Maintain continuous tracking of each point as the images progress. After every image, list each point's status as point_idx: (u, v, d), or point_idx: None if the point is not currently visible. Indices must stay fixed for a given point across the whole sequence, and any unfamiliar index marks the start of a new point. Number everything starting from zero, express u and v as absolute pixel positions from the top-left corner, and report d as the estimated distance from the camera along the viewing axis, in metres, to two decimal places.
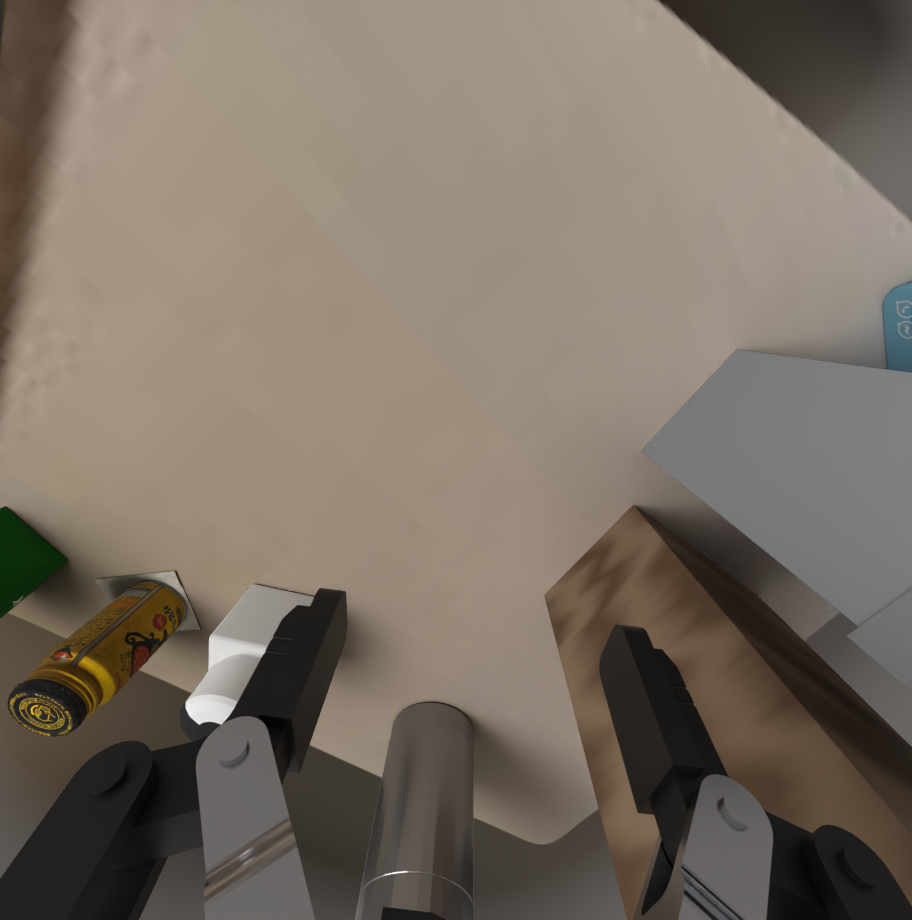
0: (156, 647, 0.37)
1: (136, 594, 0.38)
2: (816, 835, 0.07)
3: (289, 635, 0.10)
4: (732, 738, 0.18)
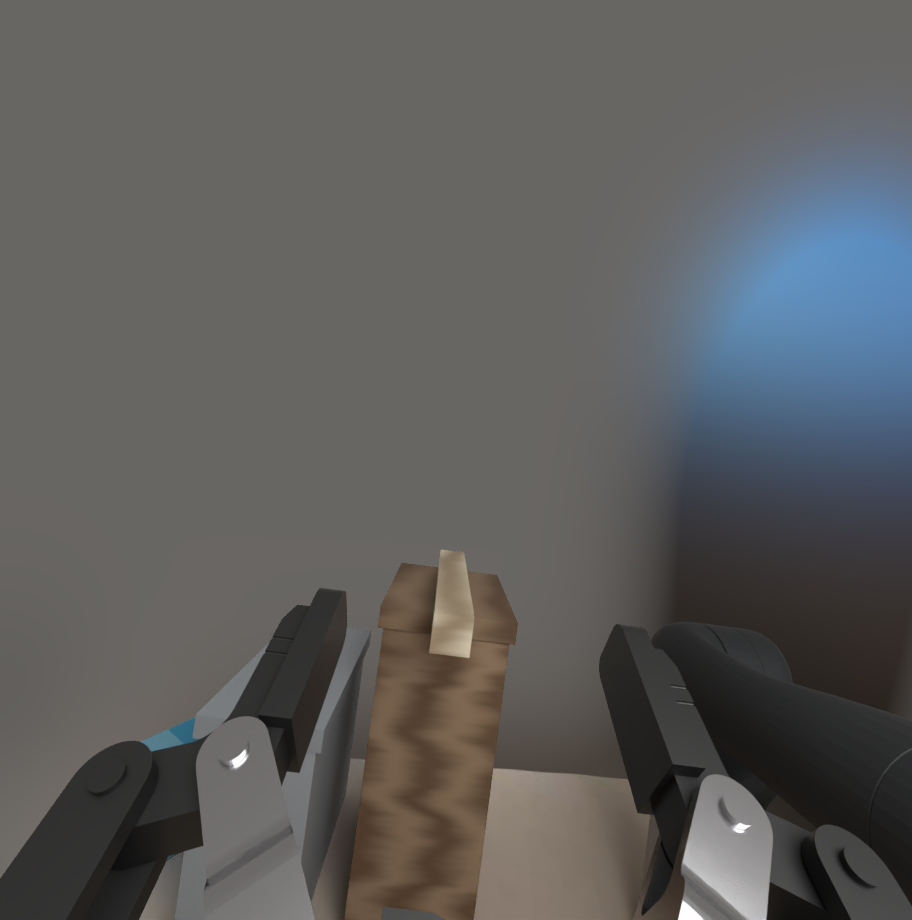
0: None
1: None
2: (816, 835, 0.07)
3: (289, 635, 0.10)
4: (403, 753, 0.37)
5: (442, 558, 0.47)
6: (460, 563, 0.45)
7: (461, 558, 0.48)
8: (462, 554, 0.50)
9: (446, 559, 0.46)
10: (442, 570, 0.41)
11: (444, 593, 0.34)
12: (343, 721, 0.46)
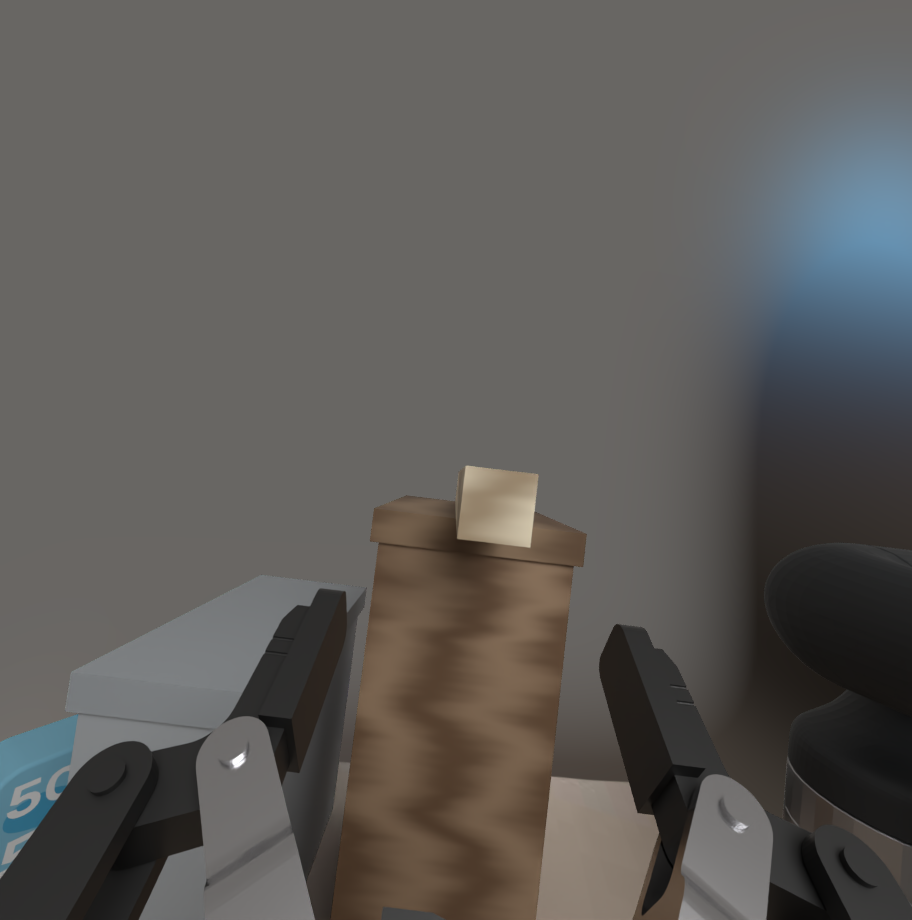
0: None
1: None
2: (816, 835, 0.07)
3: (289, 635, 0.10)
4: (410, 740, 0.24)
5: None
6: None
7: None
8: None
9: None
10: None
11: None
12: (325, 702, 0.32)
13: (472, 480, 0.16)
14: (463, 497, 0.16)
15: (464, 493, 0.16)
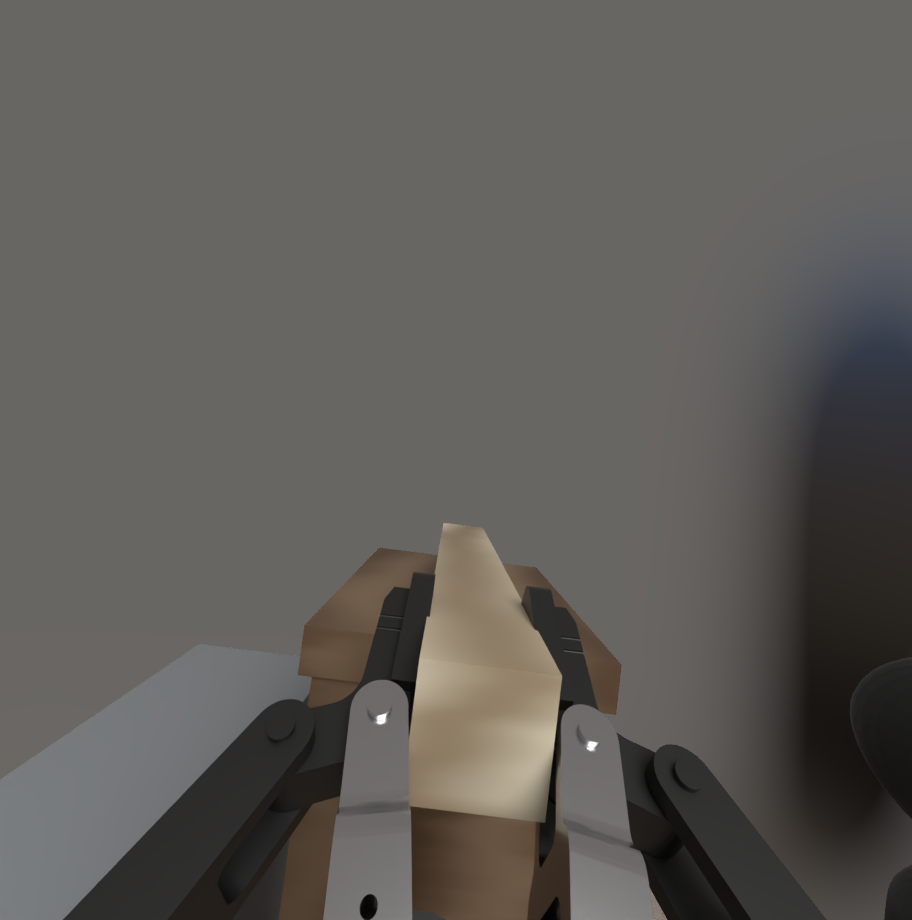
0: None
1: None
2: (654, 764, 0.08)
3: (394, 613, 0.11)
4: None
5: (446, 533, 0.25)
6: (480, 540, 0.24)
7: (480, 534, 0.27)
8: (480, 529, 0.29)
9: (453, 534, 0.25)
10: (446, 549, 0.20)
11: (451, 592, 0.13)
12: None
13: (432, 687, 0.08)
14: (413, 723, 0.08)
15: (416, 714, 0.08)
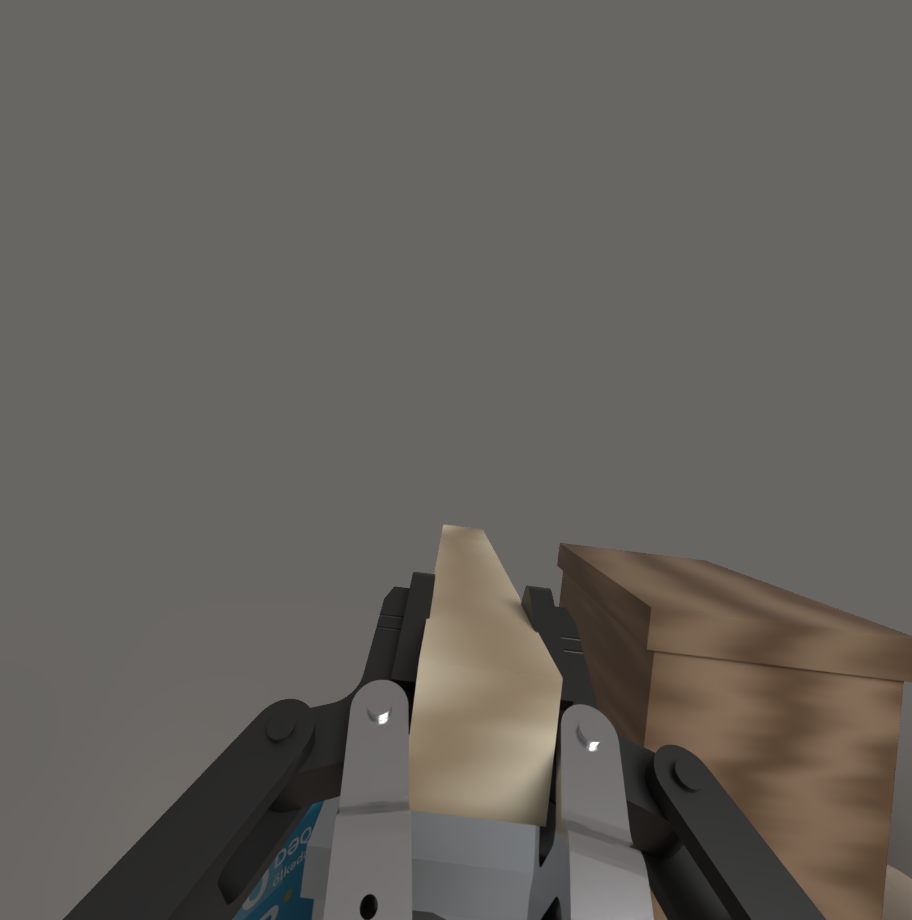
0: None
1: None
2: (654, 764, 0.08)
3: (394, 613, 0.11)
4: None
5: (446, 534, 0.25)
6: (480, 542, 0.24)
7: (480, 536, 0.27)
8: (480, 531, 0.29)
9: (453, 536, 0.25)
10: (446, 550, 0.20)
11: (451, 595, 0.13)
12: None
13: (432, 689, 0.08)
14: (413, 726, 0.08)
15: (415, 717, 0.08)
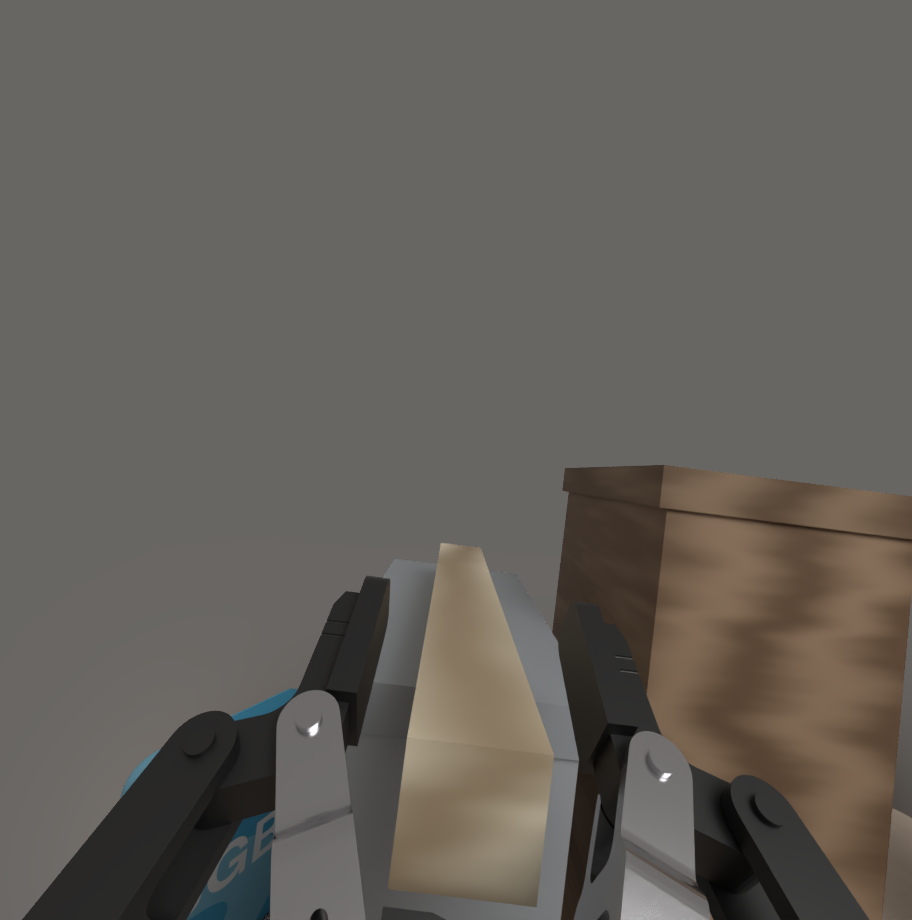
0: None
1: None
2: (731, 789, 0.08)
3: (342, 619, 0.11)
4: (712, 762, 0.19)
5: (443, 557, 0.25)
6: (477, 565, 0.24)
7: (477, 557, 0.27)
8: (478, 550, 0.29)
9: (450, 558, 0.25)
10: (442, 579, 0.20)
11: (444, 641, 0.13)
12: None
13: (420, 766, 0.08)
14: (401, 804, 0.08)
15: (403, 795, 0.08)
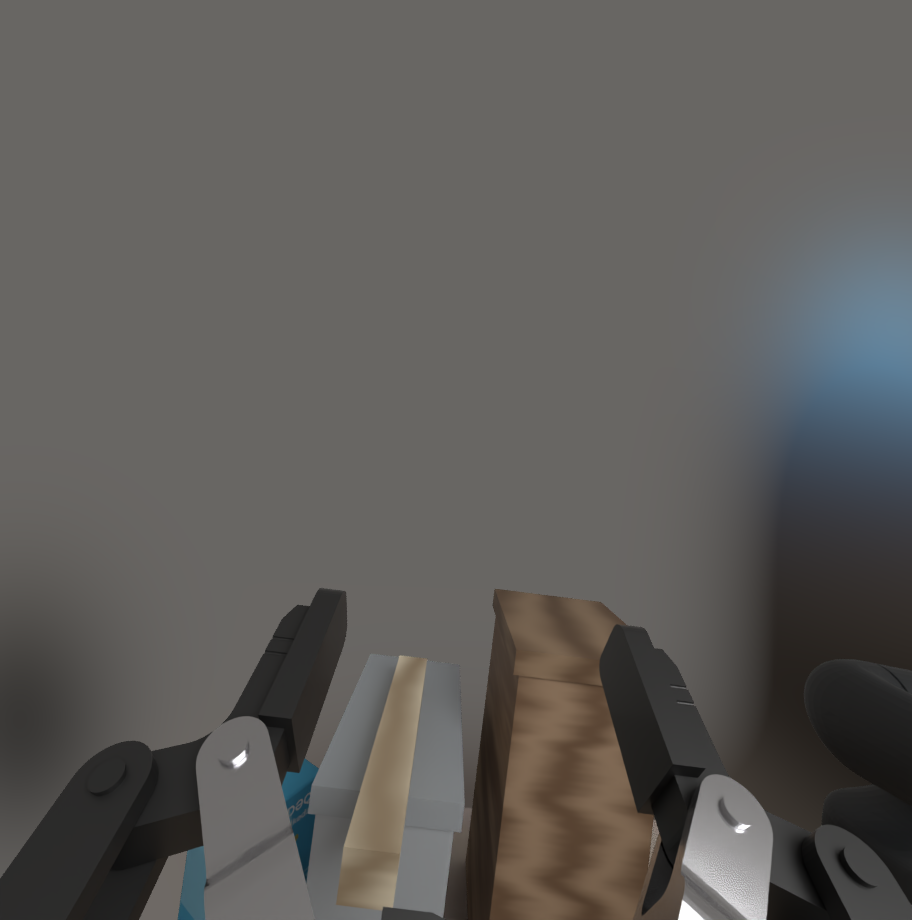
0: None
1: None
2: (815, 835, 0.07)
3: (289, 635, 0.10)
4: (543, 825, 0.32)
5: (395, 678, 0.38)
6: (416, 688, 0.37)
7: (420, 675, 0.40)
8: (424, 664, 0.42)
9: (400, 680, 0.38)
10: (387, 712, 0.33)
11: (373, 779, 0.26)
12: None
13: (348, 858, 0.21)
14: (341, 872, 0.21)
15: (342, 869, 0.21)
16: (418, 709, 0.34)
